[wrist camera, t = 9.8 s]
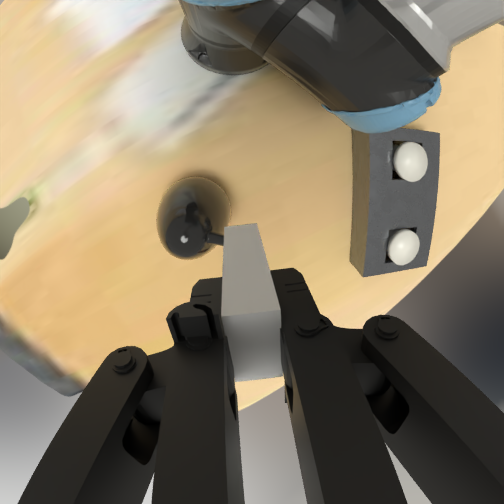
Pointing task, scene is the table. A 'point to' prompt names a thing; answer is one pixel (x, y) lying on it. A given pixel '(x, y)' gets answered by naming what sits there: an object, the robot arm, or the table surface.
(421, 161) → the knob near
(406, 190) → the housing
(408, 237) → the knob far
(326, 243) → the table surface
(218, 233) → the pump dispenser
